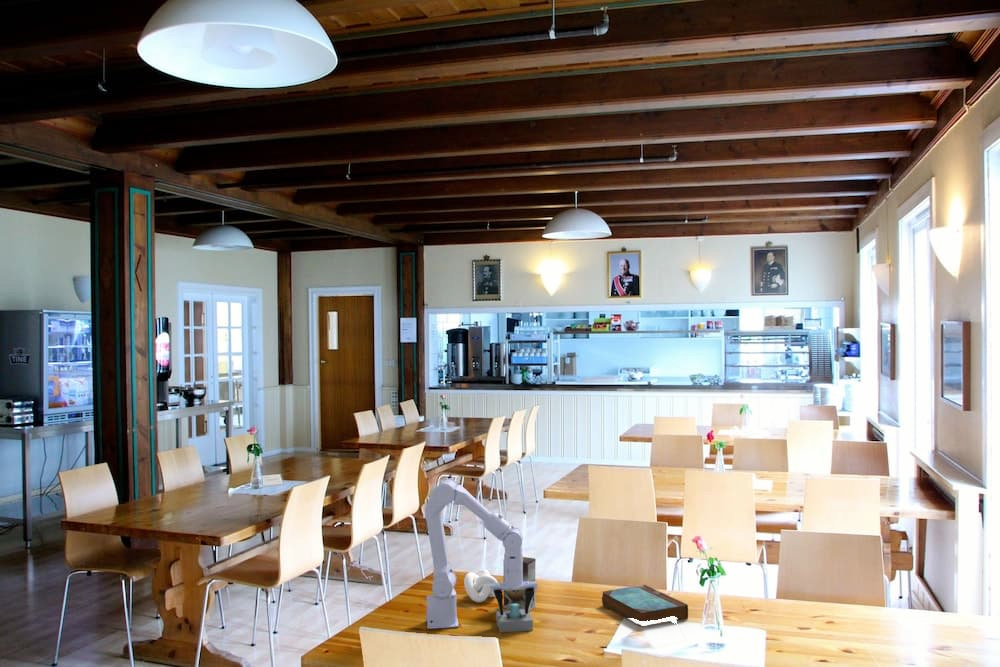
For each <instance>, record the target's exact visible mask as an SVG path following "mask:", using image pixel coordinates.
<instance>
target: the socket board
mask: <svg viewBox="0 0 1000 667" xmlns="http://www.w3.org/2000/svg"><path fill="white" fill-rule="evenodd" d="M519 612H520V618H510V609H503V615H501V614H500V610H496V611H495V621H497V622H496V624H497V628H498V627H499V628H498V630H499V633H509V632H510V633H511V632H524V631H525V632H528V631H529V632H530V631H534V630H533V629H534V628H533V627H534V624H533V623H534V620H533V618H532V616H531V613H530V611H528V614H526V613H525V609H522V610H519Z"/></svg>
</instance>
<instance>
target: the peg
mask: <svg viewBox="0 0 1000 667" xmlns="http://www.w3.org/2000/svg"><path fill="white" fill-rule="evenodd" d="M509 610H510V618H520V612H519V604H510V609H509Z"/></svg>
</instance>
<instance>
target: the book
mask: <svg viewBox="0 0 1000 667" xmlns="http://www.w3.org/2000/svg"><path fill="white" fill-rule="evenodd" d="M601 602H602V606H603V605H604V606H606V607H607V608H606V607H605V608H606V609H608V608H609V609H608V610H610V611H611V610H612V612H613V613H615V614H617V615H619V616H621V617H622V618H624V619H626V618H634V619H637V620H639V621H647V620H648V621H650V620H658V619H662V618H666V617H670V616H675V617H677V618H678V620H677V621H680V620H686V619H687V620H688V617H689V605H688V604H687V603H685V602H683V601H681V600H678V599H676V598H674V597H672V596H670V595H668V594H666V593H663V592H662V591H659V590H657V589H656V588H653V587H650V586H648V585H646V584H643V585H634V586H627V587H622V588H616V589H610V590H606V591H605V590H603V591H602V596H601ZM604 606H603V607H604Z"/></svg>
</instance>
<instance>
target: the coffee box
mask: <svg viewBox="0 0 1000 667" xmlns="http://www.w3.org/2000/svg"><path fill="white" fill-rule="evenodd" d="M503 562H504V559H503ZM536 562H537V561H536V558H533V557H526V556H523V581H532V582H534V581H536ZM536 603H537V602H536V590H534V596H533V598H532V600H531V602H530V605H529V610H528V611H529V612H531V611H532V610H534V609H535V608H536ZM510 604H519V610H522V609H525V591H524V589H523V590H503V609H505V608H506V609H505V610H510ZM534 607H535V608H534ZM533 608H534V609H533ZM530 610H531V611H530Z"/></svg>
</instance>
